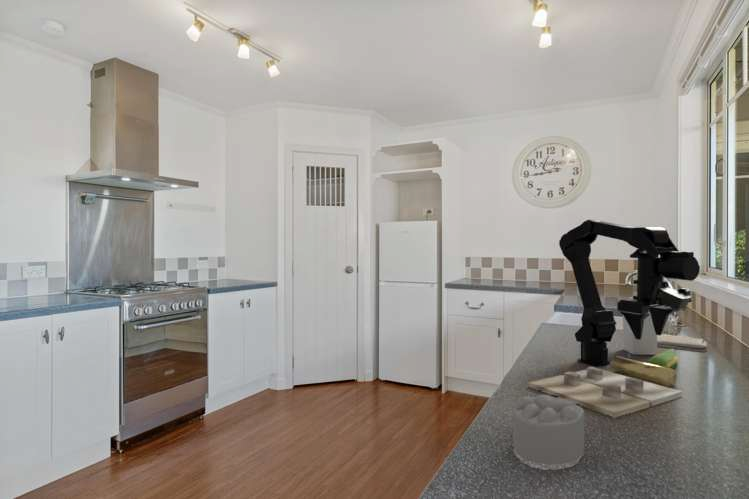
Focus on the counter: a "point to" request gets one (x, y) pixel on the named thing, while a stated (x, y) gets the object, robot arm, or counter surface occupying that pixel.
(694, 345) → the washcloth
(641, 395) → the hinge leaves
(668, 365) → the edible corn
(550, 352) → the counter surface
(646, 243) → the robot arm
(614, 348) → the counter surface
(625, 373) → the hinge pin
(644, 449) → the counter surface
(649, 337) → the milk carton
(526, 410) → the lumpy-topped squat cylinder
